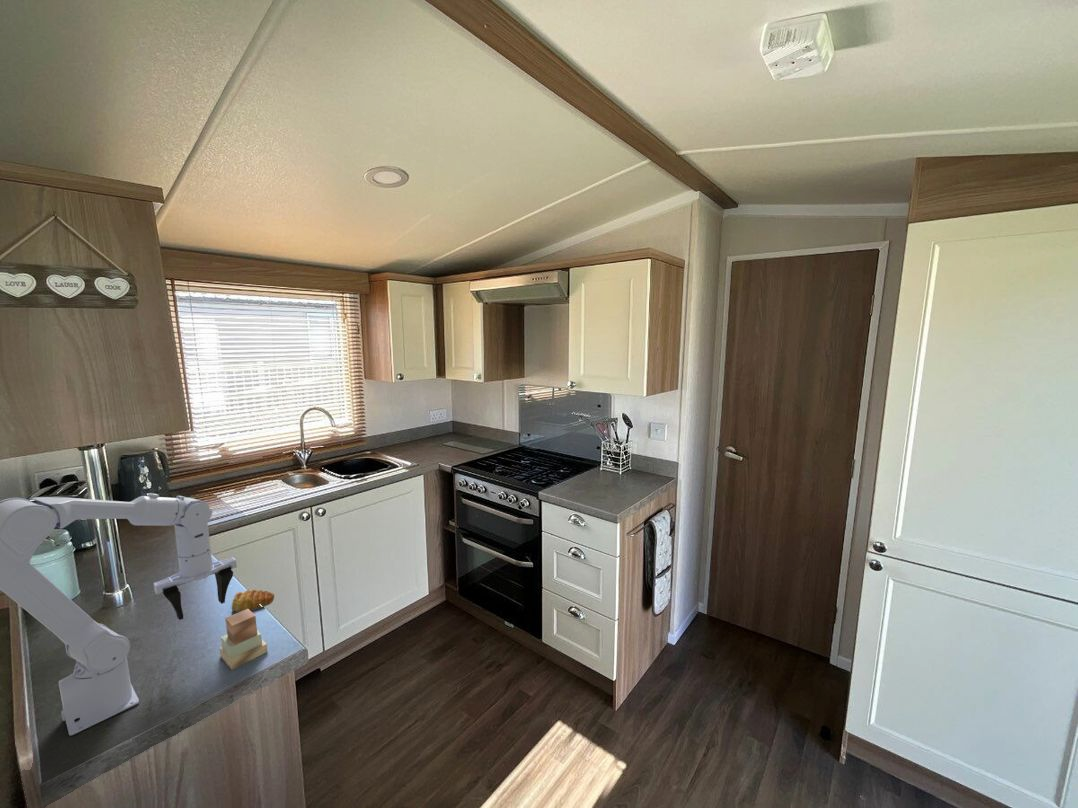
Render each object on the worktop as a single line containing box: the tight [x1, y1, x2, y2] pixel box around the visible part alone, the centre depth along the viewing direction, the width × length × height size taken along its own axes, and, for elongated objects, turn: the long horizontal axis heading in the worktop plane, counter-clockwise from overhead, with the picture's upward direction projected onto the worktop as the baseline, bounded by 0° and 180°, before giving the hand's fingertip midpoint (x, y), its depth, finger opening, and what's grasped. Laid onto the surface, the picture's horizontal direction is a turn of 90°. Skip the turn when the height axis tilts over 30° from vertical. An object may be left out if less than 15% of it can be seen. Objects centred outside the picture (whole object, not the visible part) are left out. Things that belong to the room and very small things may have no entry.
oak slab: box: [219, 639, 268, 671], centre depth 100 cm, size 7×7×2 cm
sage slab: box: [220, 629, 263, 659], centre depth 100 cm, size 6×6×2 cm
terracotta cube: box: [224, 609, 258, 645], centre depth 100 cm, size 4×4×4 cm
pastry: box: [231, 589, 275, 613], centre depth 120 cm, size 9×7×4 cm
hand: (201, 609), depth 100 cm, fingers open, 7 cm apart
